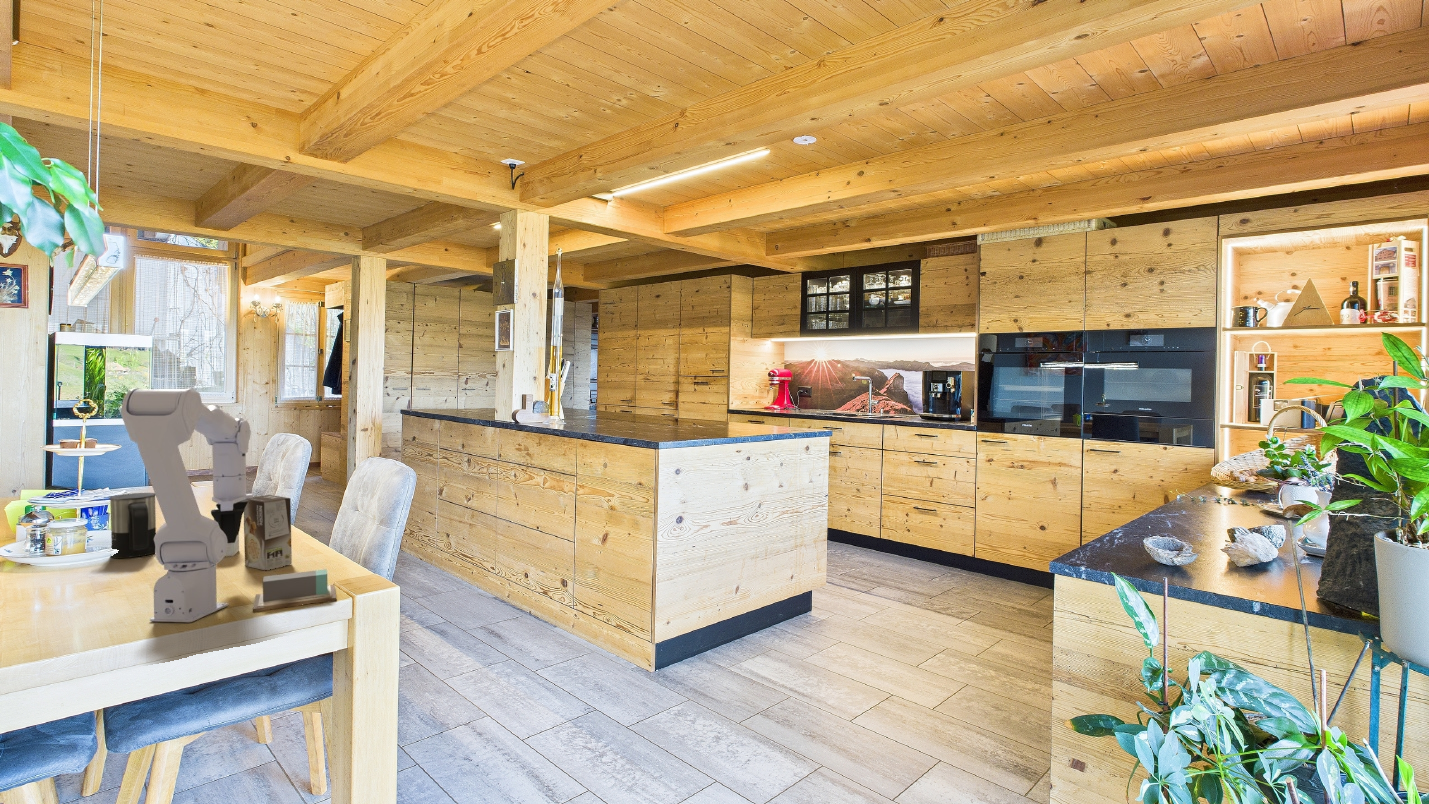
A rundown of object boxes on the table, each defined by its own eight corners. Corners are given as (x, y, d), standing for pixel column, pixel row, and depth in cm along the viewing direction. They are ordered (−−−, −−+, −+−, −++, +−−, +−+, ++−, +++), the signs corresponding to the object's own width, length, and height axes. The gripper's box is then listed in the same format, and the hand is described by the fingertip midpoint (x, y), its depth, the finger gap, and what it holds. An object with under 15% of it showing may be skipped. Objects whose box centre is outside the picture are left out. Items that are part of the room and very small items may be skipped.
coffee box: (293, 564, 165) (292, 497, 164) (265, 571, 159) (264, 501, 158) (270, 559, 169) (269, 494, 168) (242, 565, 163) (241, 498, 163)
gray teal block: (263, 602, 135) (262, 581, 135) (264, 596, 139) (263, 576, 139) (327, 593, 141) (327, 574, 141) (326, 588, 144) (326, 569, 144)
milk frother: (101, 556, 170) (100, 496, 170) (173, 542, 185) (171, 487, 184) (135, 563, 165) (133, 501, 164) (206, 548, 179) (205, 491, 179)
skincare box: (219, 551, 175) (218, 504, 175) (239, 550, 177) (238, 503, 177) (213, 557, 170) (212, 509, 169) (234, 556, 172) (233, 508, 171)
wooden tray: (252, 612, 132) (252, 607, 132) (255, 597, 141) (255, 593, 141) (336, 600, 139) (336, 596, 139) (334, 587, 148) (334, 583, 148)
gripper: (250, 478, 142) (251, 544, 142) (254, 469, 154) (255, 530, 155) (207, 480, 138) (208, 548, 139) (215, 471, 150) (216, 533, 151)
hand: (230, 539), depth 146 cm, fingers open, 7 cm apart
